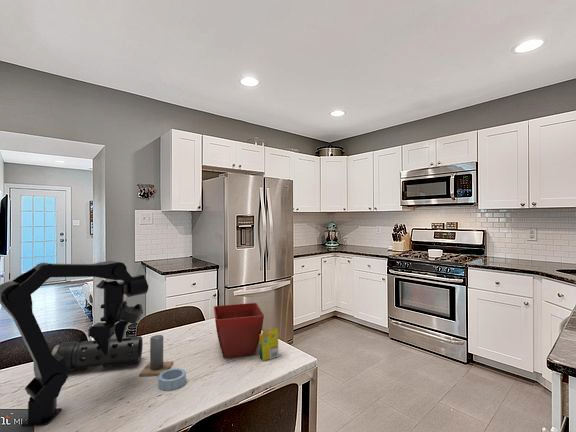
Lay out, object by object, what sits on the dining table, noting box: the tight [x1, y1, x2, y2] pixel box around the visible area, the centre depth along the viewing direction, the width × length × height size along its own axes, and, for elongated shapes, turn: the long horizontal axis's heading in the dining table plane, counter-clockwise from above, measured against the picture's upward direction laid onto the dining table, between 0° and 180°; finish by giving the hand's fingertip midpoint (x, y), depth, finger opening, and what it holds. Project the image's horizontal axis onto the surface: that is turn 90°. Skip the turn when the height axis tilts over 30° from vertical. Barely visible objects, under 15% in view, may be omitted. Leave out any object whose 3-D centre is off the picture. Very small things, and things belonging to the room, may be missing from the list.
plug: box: [149, 334, 164, 371], centre depth 111 cm, size 4×4×11 cm
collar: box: [157, 367, 187, 392], centre depth 102 cm, size 8×8×3 cm
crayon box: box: [258, 327, 279, 362], centre depth 121 cm, size 7×3×12 cm, turn 122°
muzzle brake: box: [51, 335, 143, 372], centre depth 113 cm, size 10×28×10 cm, turn 105°
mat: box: [138, 360, 174, 377], centre depth 111 cm, size 9×9×1 cm
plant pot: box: [213, 302, 265, 359], centre depth 128 cm, size 19×19×17 cm
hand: (113, 348), depth 99 cm, fingers open, 9 cm apart
